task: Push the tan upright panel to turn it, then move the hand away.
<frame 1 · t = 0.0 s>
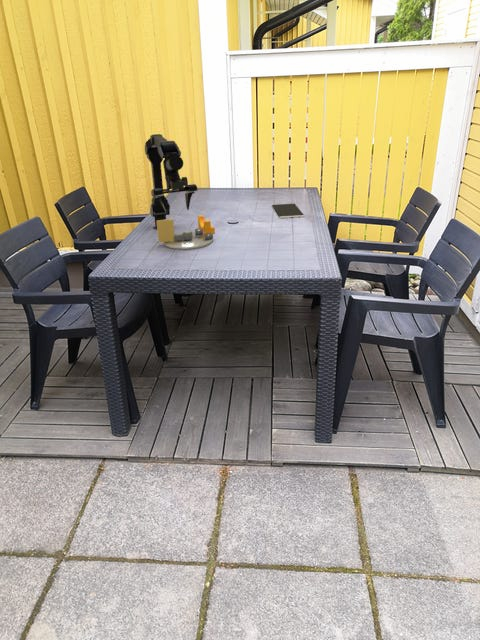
hand: (177, 211, 202), 15 cm above the table, tool pointing down, fingers open, 9 cm apart
dial plate: (188, 242, 215), on the table
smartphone: (287, 213, 258), on the table
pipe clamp: (206, 231, 230), on the table
tan upright panel: (174, 229, 210), point 6 cm above the table, hinge at 0.0°
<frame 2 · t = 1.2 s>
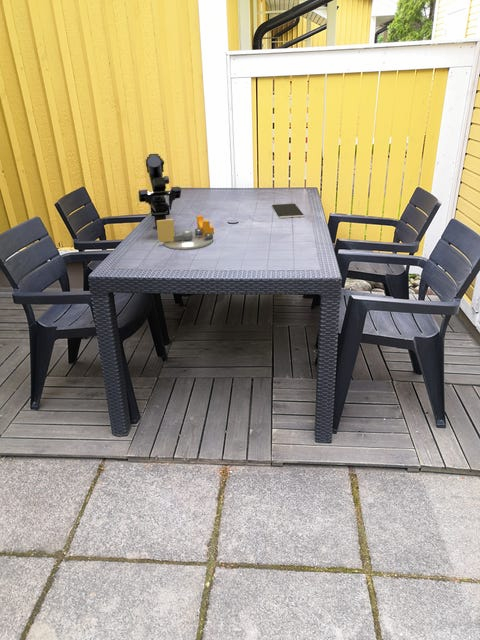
hand: (163, 210, 213), 13 cm above the table, tool tilted 45°, fingers open, 6 cm apart
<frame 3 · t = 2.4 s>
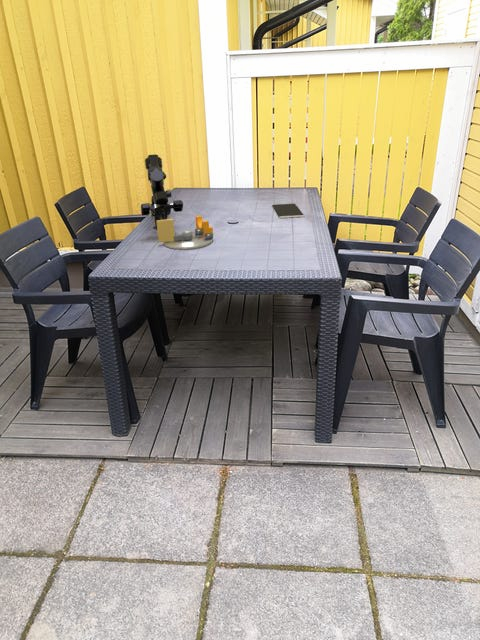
hand: (165, 223, 213), 8 cm above the table, tool tilted 45°, fingers closed
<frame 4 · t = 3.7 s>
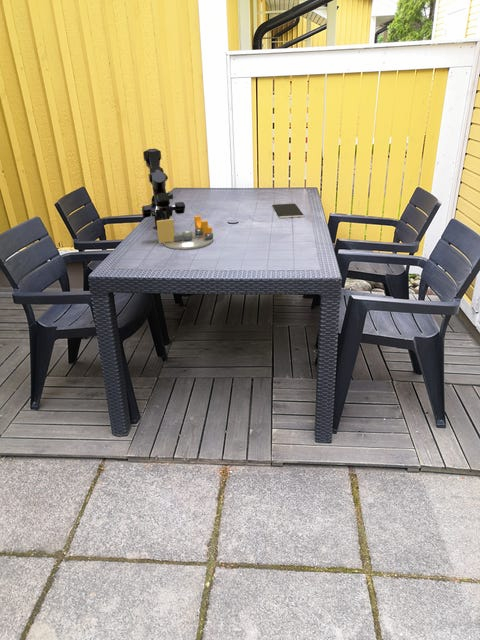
hand: (167, 226, 209), 8 cm above the table, tool tilted 45°, fingers closed, pressing on tan upright panel
tan upright panel: (175, 229, 210), point 6 cm above the table, hinge at 1.8°, touching gripper
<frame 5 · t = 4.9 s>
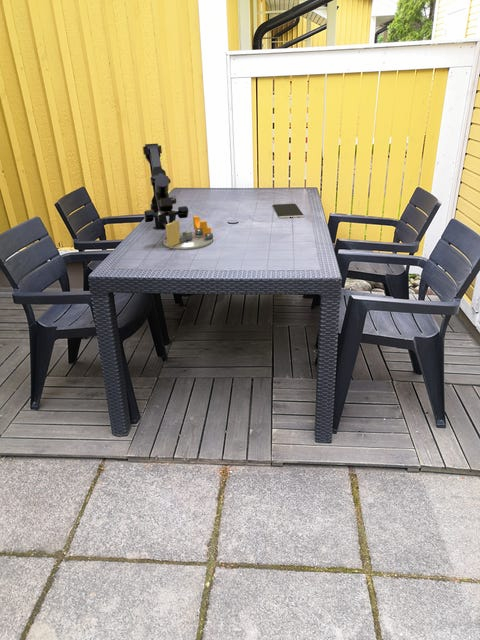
hand: (170, 231, 205), 7 cm above the table, tool tilted 45°, fingers closed
tan upright panel: (179, 231, 208), point 6 cm above the table, hinge at 39.7°, touching gripper
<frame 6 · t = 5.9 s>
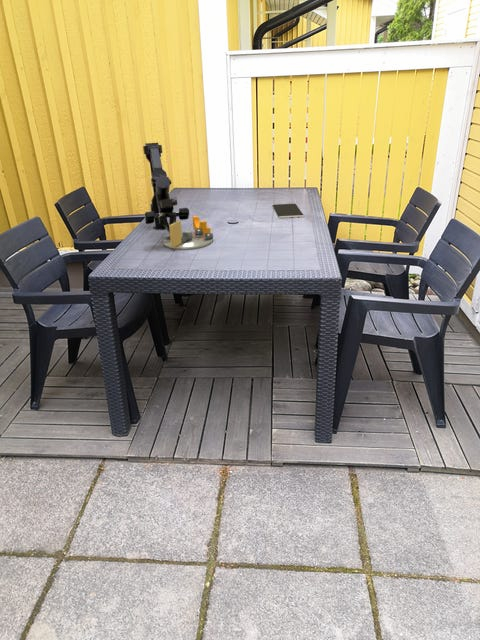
hand: (170, 233, 203), 7 cm above the table, tool tilted 45°, fingers closed
tan upright panel: (180, 231, 207), point 6 cm above the table, hinge at 48.2°, touching gripper
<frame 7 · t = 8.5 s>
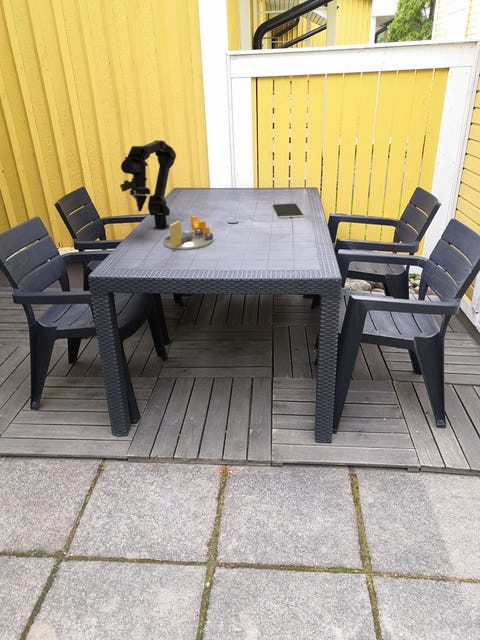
hand: (139, 211, 217), 13 cm above the table, tool pointing down, fingers closed
tan upright panel: (180, 231, 207), point 6 cm above the table, hinge at 48.3°
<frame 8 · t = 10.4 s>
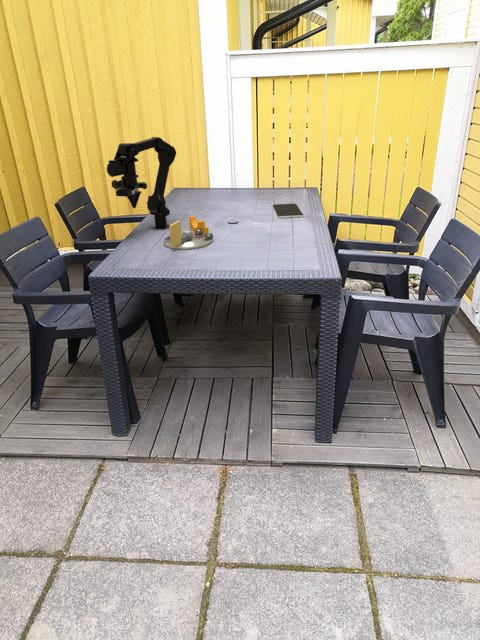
hand: (134, 208, 221), 13 cm above the table, tool pointing down, fingers closed
at the end: tan upright panel at +48° (first picture: +0°) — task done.
